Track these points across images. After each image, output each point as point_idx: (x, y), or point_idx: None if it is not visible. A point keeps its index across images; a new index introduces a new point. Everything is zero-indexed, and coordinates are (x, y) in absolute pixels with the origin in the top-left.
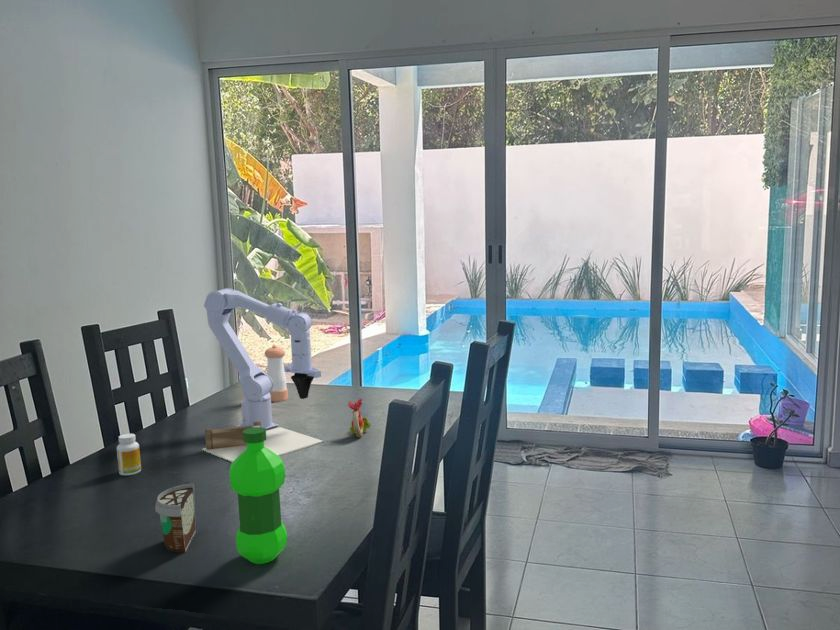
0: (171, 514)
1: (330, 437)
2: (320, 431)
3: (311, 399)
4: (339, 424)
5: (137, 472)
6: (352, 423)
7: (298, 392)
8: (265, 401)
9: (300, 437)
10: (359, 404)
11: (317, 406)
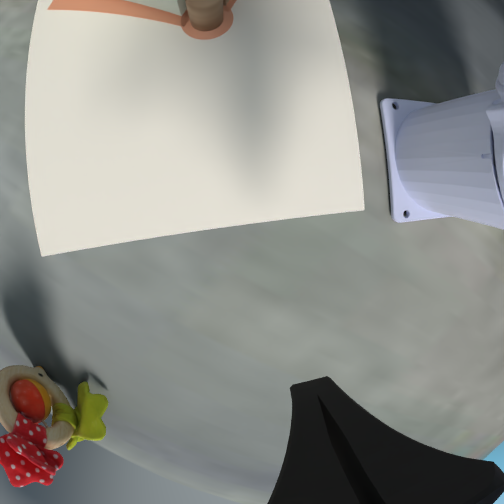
0: None
1: (82, 309)
2: (181, 325)
3: (483, 413)
4: (219, 413)
5: None
6: (18, 386)
7: (345, 403)
8: (489, 157)
9: (135, 201)
10: (37, 471)
11: (441, 417)
